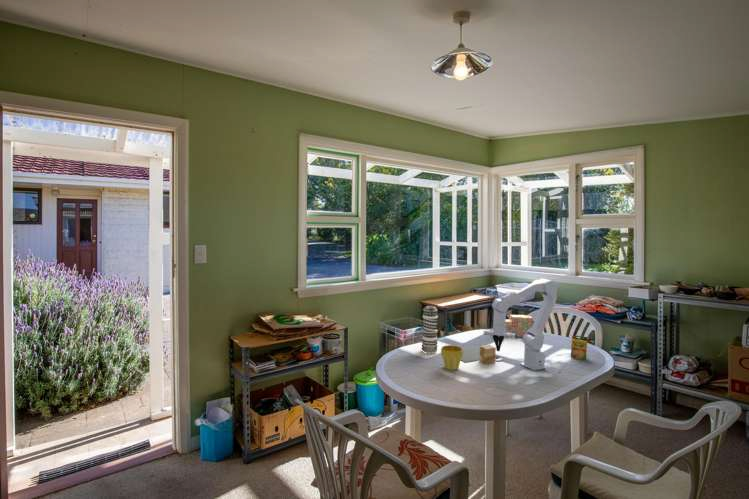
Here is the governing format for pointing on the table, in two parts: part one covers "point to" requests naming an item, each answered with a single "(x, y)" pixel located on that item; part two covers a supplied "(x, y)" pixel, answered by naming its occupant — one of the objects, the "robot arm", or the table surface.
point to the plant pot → (451, 356)
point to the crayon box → (579, 347)
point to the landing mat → (472, 354)
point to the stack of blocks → (518, 324)
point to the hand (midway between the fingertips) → (498, 350)
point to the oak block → (487, 354)
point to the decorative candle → (429, 329)
